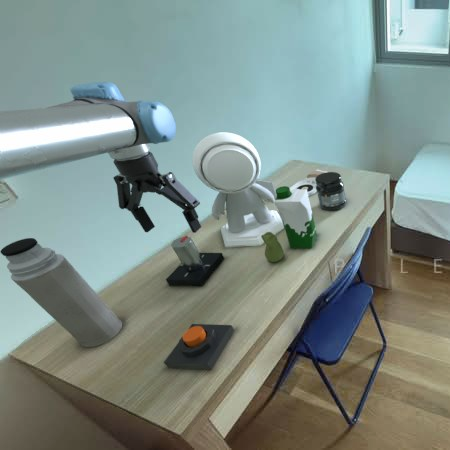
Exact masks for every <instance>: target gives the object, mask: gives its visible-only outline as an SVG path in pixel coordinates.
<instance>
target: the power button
mask: <svg viewBox="0 0 450 450" xmlns="http://www.w3.org/2000/svg"><path fill="white" fill-rule="evenodd" d="M182 336H183V340H184V342H185V343H186V344H187V346H189V347H194V346H197V345H199V344H200V343H202V342H203V341H204V340H205V338H206V333H205V331H204V330H203V328H202V327H201V326H194V327H192V328H190V329H189V328H188V329H187V330H186V331H185V332H184V333H183V335H182Z"/></svg>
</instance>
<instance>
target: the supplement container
mask: <svg viewBox="0 0 450 450" xmlns="http://www.w3.org/2000/svg"><path fill="white" fill-rule="evenodd" d="M315 181H316V190H317V192H316V194H317V199H318V204H319V207H320V208H321V209H323V210H325V211H336V210H337V211H338V210H340V209H341V208H343V207H344V206H345V205H346V203H347V199H346V192H345V187H344V186H345V184H344V181H342V175H341V174H340V173H339V172H336V171H326V173H322V174H320V175H318V176H317V177H316V179H315Z"/></svg>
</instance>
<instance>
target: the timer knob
mask: <svg viewBox="0 0 450 450" xmlns="http://www.w3.org/2000/svg"><path fill="white" fill-rule="evenodd" d="M170 245H171V248H172V249H173V251H174V253H175V255H177V258H178V259H179V261H180V264H181V263H182V264H183V266H184V268H185V269H186V270H187V271H194V270H197V269H199V268H200V267H202V266H203V264H204V261H203V259H202V257H201V255H200V253H199V252H200V251H199V250H198V248H197V246H196V243H194V241H193V239H192V237H191V236H188V235H184V236H181V237H178V238H176V239H174V240H173V241H172V242H171V244H170Z"/></svg>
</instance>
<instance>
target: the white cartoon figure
mask: <svg viewBox="0 0 450 450" xmlns="http://www.w3.org/2000/svg"><path fill="white" fill-rule="evenodd" d="M191 157H192V159H191V161H192V162H191V163H192V167H193V170H194V172H195V175H196V176H197V178H198V179H199V180H200V181H201V183H202V184H204V185H205V186H206V187H208V188H210V189H211V190H213V191H215V192H218V194H217V195H216V197H215V199H214V201H213V204H212V206H211V214H212V217H213V218H214V219H215V220H216V221H219V220H220V217H219V216H220V215H222V216H225V214H226V220H227V221H226V224H223V225H222V226H221V227H220V233H221V236H222V239H223V243H224V247H225V248H239V247H240V248H241V247H258V246H259V247H260V246H262V245H263V244H265V242H264V241H263V239H262V237H261V236H262V235H264V234H265V233H266V232H272V234H274V235H275V236H276V235H278V234H279V232H281V231H283V230H285V228H284V225H283V222H282V219H281V216H280V213H279V211H277V210H273V209H271V210H269V208H268V207H267V205H266V204H265V203H267V202H268V201H270V202H271V204H275V203H274V202H275V200H276V199H274V196H273V194H272V193H271V192H270V191H269V190H267V189H266V188H264V187H262V186H261V185H259V184H256V183H255V182H256V180H257V179H259V177H260V175H261V169H262V162H261V158H260V155H259V152H258V151H257V149H256V147H255V146H254V145H253V144H252V143H251V142H250V141H249V140H248V139H246V138H244V136H241V135H239V134H236V133H233V132H228V131H227V132H225V131H223V132H222V131H221V132H214V133H211V134H209V135H206V136H205V137H203V138H202V139H201V140H200V141H198V143H197V144H196V146H195V147H194V150H193V152H192V156H191ZM256 193H257V194H258V195H260V196H261V197H260V196H258V195H257V194H256ZM225 210H226V211H225ZM225 212H226V213H225Z"/></svg>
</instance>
